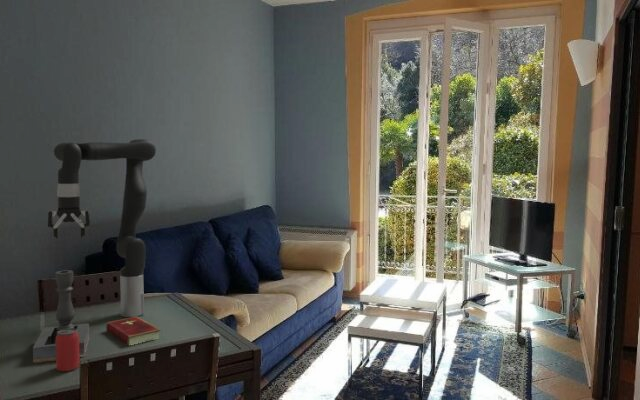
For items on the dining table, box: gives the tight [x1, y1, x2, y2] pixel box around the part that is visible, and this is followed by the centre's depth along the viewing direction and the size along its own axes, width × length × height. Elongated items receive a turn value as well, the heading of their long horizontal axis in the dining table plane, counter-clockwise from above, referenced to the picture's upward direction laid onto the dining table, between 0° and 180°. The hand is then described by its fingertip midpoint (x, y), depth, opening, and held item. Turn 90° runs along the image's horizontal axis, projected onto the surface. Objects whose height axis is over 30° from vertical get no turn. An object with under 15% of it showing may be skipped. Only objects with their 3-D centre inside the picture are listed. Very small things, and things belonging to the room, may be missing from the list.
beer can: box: [55, 328, 80, 372], centre depth 156 cm, size 7×7×12 cm
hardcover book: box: [105, 316, 161, 347], centre depth 188 cm, size 12×21×4 cm, turn 43°
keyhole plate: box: [32, 322, 90, 363], centre depth 173 cm, size 15×21×5 cm
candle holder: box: [54, 269, 76, 336], centre depth 177 cm, size 6×6×25 cm
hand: (69, 237), depth 190 cm, fingers open, 8 cm apart
